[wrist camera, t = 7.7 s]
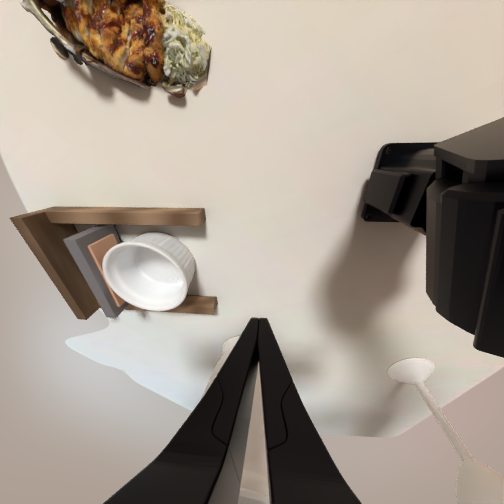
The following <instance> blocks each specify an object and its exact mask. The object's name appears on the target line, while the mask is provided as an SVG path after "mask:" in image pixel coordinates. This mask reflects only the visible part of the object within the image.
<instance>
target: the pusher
mask: <svg viewBox="0 0 504 504" xmlns="http://www.w3.org/2000/svg"><path fill="white" fill-rule="evenodd" d="M63 241H64V242H65V244H66V246H67V248H68V249H69V251H70V253H71V255H72V257H73V258H74V260H75V262H76V264H77V265H78V267H79V269H80V271H81V273H82V274H83V276H84V278H85V280H86V281H87V283H88V285H89V287H90V289H91V290H92V292H93V294H94V296H95V297H96V299H97V301H98V303H99V304H100V306H101V308H102V310H103V312H104V313H105V315H106V317H112V318H116V317H117V316H118V315H119V314H120V313H121V312H122V311H123V310H124V309H125V308H126V307H127V306H128V305H129V303H128V302H126V301H125V300H124V299H122V298H121V297H120V296H118V295H117V294H116V293H115V292H114V291H113V290H112V288H111V287H110V286H109V284H108V283H107V281H106V279H105V277H104V273H103V268H102V264H103V258H104V256H105V254H106V253H107V252H108V251H109V250H110V249H111V248H112V247H114V246H116V245H118V244H120V243H121V242H120V240H119V237H118V235H117V232H116V230H115V227H114V225H113V224H99V225H97V226H94V227H92V228H89V229H87V230H85V231H82V232H80V233H77V234H75V235H73V236H70V237H68V238H66V239H63Z"/></svg>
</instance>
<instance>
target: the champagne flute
mask: <svg viewBox="0 0 504 504" xmlns="http://www.w3.org/2000/svg"><path fill="white" fill-rule="evenodd" d="M434 370H435V365H434V364H433V362H431V361H429V360H427V359H423V358H410V359H405V360H401V361H398V362H396V363H394V364H393V365H391V366H390V367H389V369H388V371H387V375H388V376H389V377H390V378H391V379H393V380H396V381H399V382H403V383H407V384H411V385H415V386H416V388H417V389H418V391H419V393H420V394H421V396H422V397H423V399H424V401H425V402H426V404H427V405H428V407H429V409H430V410H431V412H432V413H433V415H434V416H435V418H436V420H437V421H438V423H439V424H440V426H441V428H442V429H443V431H444V433H445V434H446V436H447V437H448V439H449V441H450V442H451V444H452V445H453V447H454V449H455V450H456V452H457V453H458V455H459V456H460V458H461V460H462V461H463V462H462V463H461V465H460V467H459V470H458V475H457V481H456V498H457V504H504V476H503V475H501V474H499V473H498V472H496V471H495V470H493V469H491V468H490V467H488V466H486V465H484V464H482V463H479V462H477V461H475V460H474V458H473V457H472V455H471V454H470V452H469V451H468V449H467V448H466V446H465V445H464V443H463V442H462V440H461V439H460V437H459V436H458V434H457V433H456V431H455V430H454V428H453V427H452V425H451V424H450V422H449V421H448V419H447V418H446V416H445V415H444V413H443V412H442V410H441V409H440V407H439V406H438V404H437V403H436V401H435V400H434V398H433V397H432V395H431V394H430V392H429V391H428V389H427V388H426V386H425V385H424V382H425V381H426V380H427V379H428V378H429V376H430V375H431V374H432V373H433V372H434Z"/></svg>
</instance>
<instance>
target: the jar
mask: <svg viewBox="0 0 504 504" xmlns="http://www.w3.org/2000/svg"><path fill="white" fill-rule="evenodd" d="M239 337H240V336H236V337H232V338H230V339H228V340H227V341H226V342H225V343H224V344H223V346H222V355H223V356H222V357H221V358H220V360H219V361H218V363H217V364H216V366H215V368H214V370H213V372H212V375H211V377H210V380H209V383H208V385H207V387H206V389H205V391H204V394H203V396H204V395H205V393H206V392H207V390H208V388H209V387H210V385H211V384H212V382H213V380H214V379H215V377H217V374H218V372H219V371H220V369H221V367H222V366H223V364H224V362H225V361H226V359H227V357H228V356H229V354H230V352H231V351H232V349H233V347H234V346H235V344H236V342H237V341H238V339H239ZM203 396H202V398H203ZM238 504H270V501H269V488H268V475H267V462H266V449H265V436H264V423H263V410H262V397H261V384H260V371H259V363H258V371H257V378H256V384H255V391H254V398H253V405H252V412H251V418H250V425H249V432H248V439H247V445H246V452H245V459H244V466H243V473H242V479H241V485H240V493H239V500H238Z"/></svg>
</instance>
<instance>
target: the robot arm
mask: <svg viewBox="0 0 504 504" xmlns="http://www.w3.org/2000/svg"><path fill="white" fill-rule="evenodd" d="M388 147H389V148H390V151H389V152H388V153H387V154H386V149H387V148H388ZM364 201H365V205H364V208H363V212H362V216H361V217H362V219H363V220H365V221H367V222H401V223H403V224H405V225H407V226H409V227H410V228H412V229H414V230H416V231H418V232H420V233H422V234H424V235H425V236H426V293H427V295H428V296H429V298H430V300H431V301H432V303H433V304H434V305H435V306H436V311H437V312H438V313H439V314H440V315H441V316H443V317H444V318H445V319H446V320H448V321H449V322H451V323H453V324H454V325H456V326H458V327H460V328H461V329H463V330H465V331H467V332H469V333H471V334H473V335H475V337H474V342H473V346H474V348H475V349H477V350H479V351H482V352H486V353H489V354H493V355H496V356H500V357H503V358H504V118H501V119H498V120H496V121H493V122H491V123H488V124H486V125H483V126H481V127H478V128H475V129H473V130H470V131H468V132H465V133H463V134H460V135H458V136H455V137H452V138H450V139H447V140H445V141H442V142H435V143H388V144H385V145H383V146H382V148H381V149H380V152H379V156H378V159H377V163H376V166H375V170H374V171H373V172H372V173H371V177H370V180H369V184H368V187H367V191H366V194H365V198H364ZM368 214H370V216H369V217H368V218H366V216H367V215H368ZM258 363H259V371H260V384H261V397H262V410H263V423H264V436H265V449H266V462H267V475H268V488H269V501H270V504H362V503H361V502H360V501H359V499H358V498H357V497H356V495H355V494H354V493H353V491H352V490H351V489H350V487H349V486H348V484H347V483H346V481H345V480H344V478H343V477H342V475H341V473H340V472H339V470H338V468H337V467H336V465H335V463H334V462H333V460H332V458H331V456H330V454H329V452H328V451H327V449H326V447H325V445H324V443H323V441H322V439H321V438H320V436H319V434H318V432H317V430H316V428H315V426H314V425H313V423H312V421H311V419H310V417H309V415H308V413H307V411H306V409H305V407H304V405H303V403H302V401H301V398H300V396H299V394H298V392H297V389H296V387H295V384H294V382H293V380H292V377H291V375H290V373H289V370H288V368H287V365H286V363H285V360H284V358H283V356H282V353H281V351H280V348H279V346H278V343H277V341H276V339H275V336H274V334H273V331H272V329H271V326H270V324H269V322H268V319H267V318H260V319H259V318H251V319H250V321H249V323H248V324H247V326H246V328H245V329H244V331H243V332H242V334H241V336H240V337H239V339H238V341H237V342H236V344H235V346H234V347H233V349H232V351H231V352H230V354H229V356H228V357H227V359H226V361H225V362H224V364H223V366H222V367H221V369H220V371H219V372H218V374H217V377H215V379H214V380H213V382H212V384H211V385H210V387H209V388H208V390H207V392H206V393H205V395H204V396H203V398H202V399H201V401H200V402H199V403H198V405H197V406H196V408H195V409H194V410H193V412H192V413H191V414H190V416H189V417H188V418H187V420H186V421H185V422H184V424H183V425H182V426H181V428H180V429H179V430H178V432H177V433H176V434H175V436H174V437H173V438H172V440H171V441H170V442H169V444H168V445H167V446H166V447H165V449H164V450H163V451H162V452H161V453H160V454H159V455H158V457H157V458H155V459H154V460H153V461H152V462H151V463H150V464H149V465H148V466H147V467H145V468H144V469H143V470H142V471H141V472H140V473H138V474H137V475H136V476H135V477H134V478H133V479H131V480H130V481H129V482H128V483H127V484H125V485H124V486H123V487H122V488H121V489H120V490H119V491H117V492H116V493H115V494H114V495H113V496H112V497H110V498H109V499H108V500H107V501H106V502H104V503H103V504H238V500H239V493H240V485H241V479H242V473H243V466H244V459H245V452H246V445H247V439H248V432H249V425H250V418H251V412H252V405H253V398H254V391H255V384H256V378H257V371H258Z"/></svg>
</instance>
